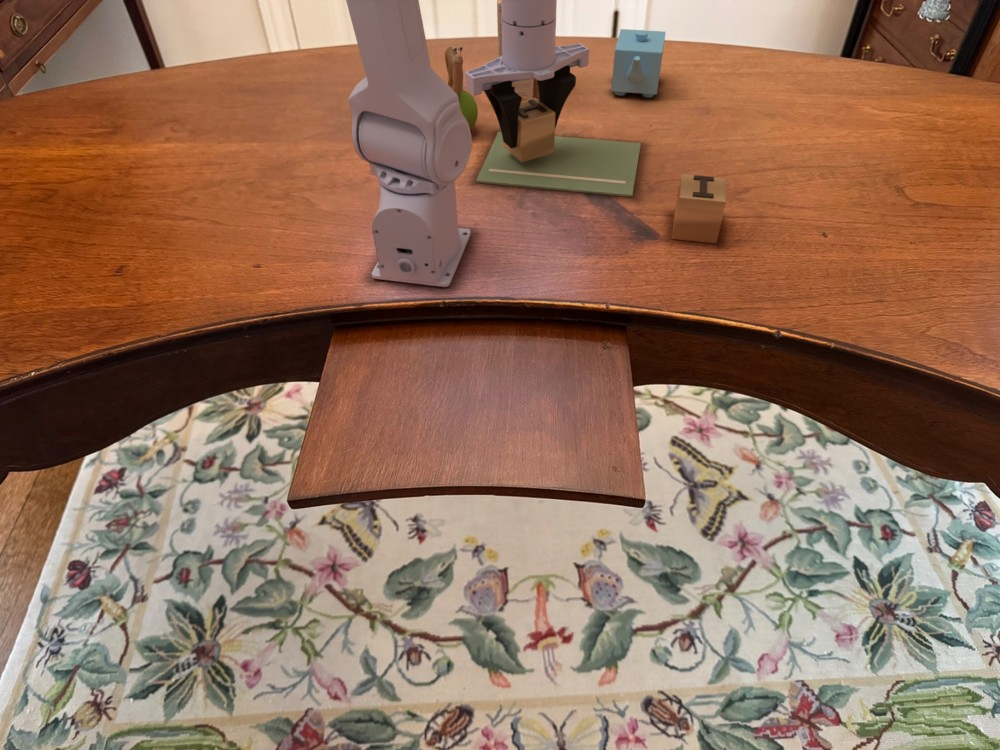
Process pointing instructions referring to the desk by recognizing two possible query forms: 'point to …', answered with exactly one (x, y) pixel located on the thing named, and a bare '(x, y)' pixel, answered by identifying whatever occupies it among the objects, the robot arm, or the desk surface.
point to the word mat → (567, 167)
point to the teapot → (637, 62)
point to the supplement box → (521, 87)
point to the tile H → (534, 131)
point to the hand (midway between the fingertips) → (528, 138)
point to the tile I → (699, 208)
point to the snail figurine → (460, 84)
